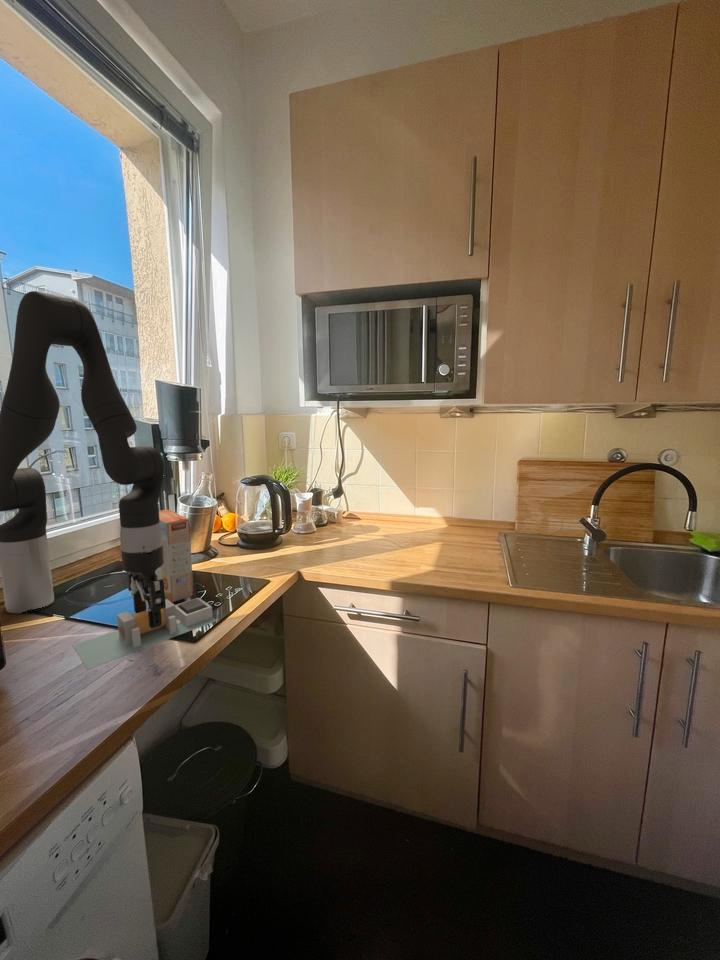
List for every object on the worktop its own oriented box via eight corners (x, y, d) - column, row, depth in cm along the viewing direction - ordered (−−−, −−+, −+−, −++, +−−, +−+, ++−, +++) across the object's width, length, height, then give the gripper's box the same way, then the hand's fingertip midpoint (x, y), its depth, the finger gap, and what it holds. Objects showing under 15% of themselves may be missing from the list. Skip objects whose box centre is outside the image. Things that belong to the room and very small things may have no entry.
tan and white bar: (119, 637, 85) (116, 614, 84) (168, 619, 92) (167, 598, 91) (126, 645, 82) (123, 622, 81) (176, 626, 89) (175, 605, 88)
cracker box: (195, 598, 105) (190, 518, 101) (170, 605, 101) (165, 522, 97) (174, 581, 115) (169, 508, 111) (151, 587, 111) (145, 511, 107)
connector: (180, 616, 94) (179, 604, 93) (197, 610, 97) (196, 598, 96) (188, 622, 91) (187, 610, 91) (205, 616, 94) (204, 604, 94)
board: (72, 649, 82) (70, 629, 81) (195, 607, 100) (194, 590, 99) (87, 673, 75) (85, 651, 74) (217, 623, 92) (216, 605, 92)
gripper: (110, 541, 86) (117, 613, 89) (134, 558, 76) (140, 639, 79) (148, 533, 92) (153, 602, 94) (175, 549, 82) (180, 624, 85)
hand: (147, 618), depth 87 cm, fingers open, 8 cm apart
